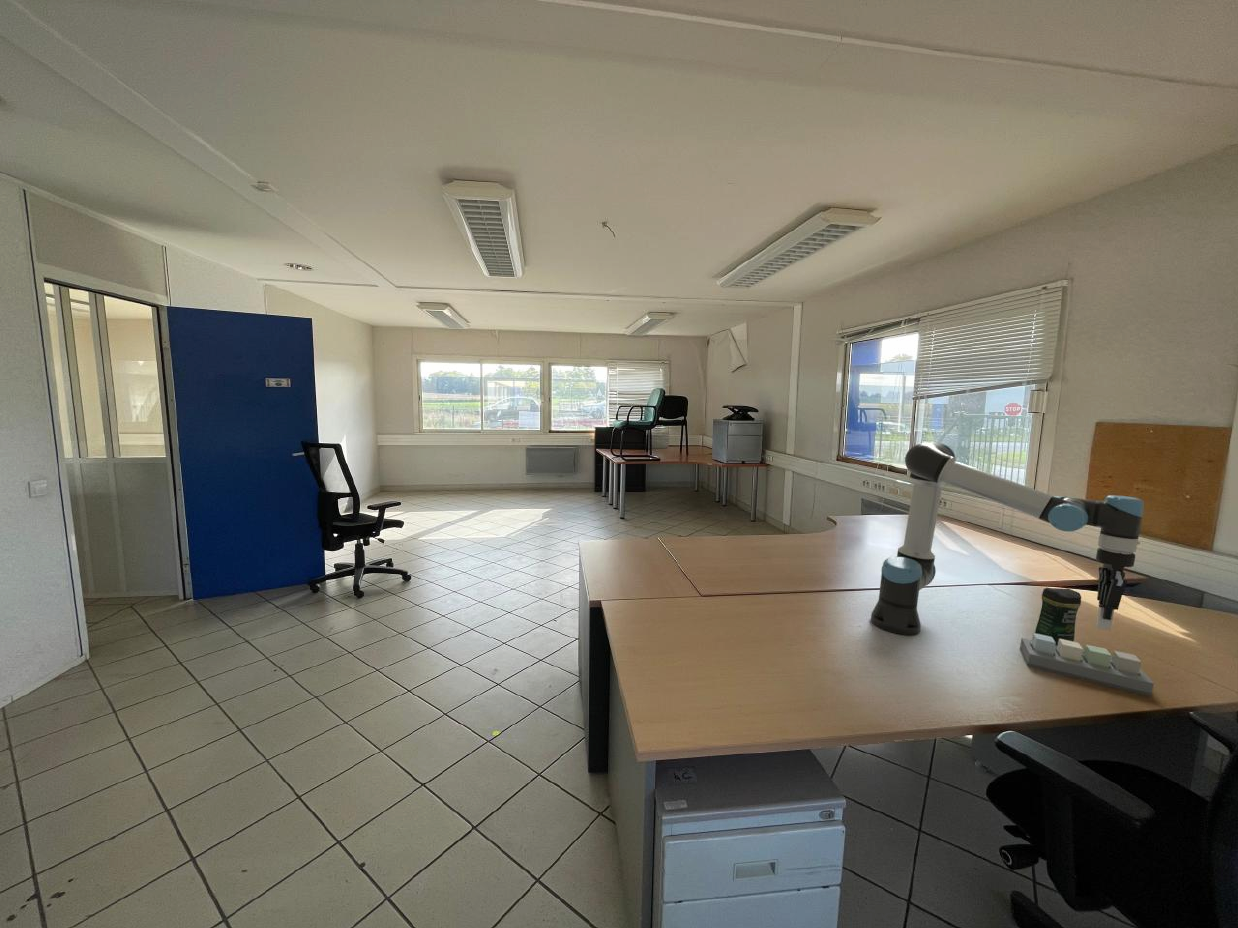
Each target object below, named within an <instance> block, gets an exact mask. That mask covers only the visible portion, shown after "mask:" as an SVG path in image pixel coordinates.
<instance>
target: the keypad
mask: <svg viewBox="0 0 1238 928" xmlns="http://www.w3.org/2000/svg"><path fill="white" fill-rule="evenodd" d="M1031 644H1032V639H1030V638H1025V637H1021V639H1020V644H1019V645H1020V646H1019V650H1020V653H1021V655H1022V657H1023V659H1024V662H1025V663H1026V664H1025V665H1027V667H1030V668H1033V669H1037V670H1042V671H1046V672H1050V673H1053V674H1056V675H1061V676H1064V677H1065V676H1066V677H1070V678H1074V679H1077V680H1081V681H1085V682H1089V683H1094V684H1098V685H1102V686H1104V687H1105V686H1106V687H1109V688H1114V689H1118V690H1122V691H1126V692H1130V693H1134V694H1138V695H1141V696H1147V697H1150V698H1152V695H1153V694H1152V693H1153V690H1154V684H1155V683H1154V682H1153V681H1152V679H1151V678H1150V677H1149V676H1148V675H1147V674H1146V673H1145V671H1143V669H1141V667H1140V671H1139V675H1136V674H1132V673H1127V672H1123V671H1119V670H1116V669H1115V667H1114V666H1113V665H1112V664H1111V661H1112V657H1111V660H1110V665H1109V668H1106V667H1102V666H1098V665H1093V664H1089V663H1087V661H1086V660H1085V658H1084V657H1083V656H1084V650H1083V651H1082V657H1081V661H1076V660H1072V659H1068V658H1063V657H1060V655H1059V653H1058V652H1057V647H1058V646H1057V645H1055V650H1054V655H1051V654H1046V653H1042V652H1038V651H1034V649H1033V647H1032V645H1031Z"/></svg>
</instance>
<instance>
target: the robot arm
mask: <svg viewBox="0 0 1238 928" xmlns="http://www.w3.org/2000/svg"><path fill="white" fill-rule="evenodd" d="M904 463H905V466H906V468H907V470H908V471H909V472H910V474H909V479H911V481H912V482H913V487H912V491H911V492H912V493H911V499H910V503H909V504H910V505H909V511H908V517H907V523H906V529H905V534H904V539H903V540H904V542H903V545H902V546H900V547H898V549H897V555H896V556H894V557H893V556H891V557H887V558H886V559H885V560H884V561H883V563H882V566H881V570H880V571H881V575H880V585H879V594H878V600H877V602H876V604H875V605H874V607H873V610H872V611H871V615H870V622H871V623H872V624H873V625H875V626H876V627H878V628H880V629H882V630H884V631H886V632H890V633H893V634H895V635H902V636H916V635H918V634H919V633H921V621H920V616H919V613H918V601H919V596H920V595H919V594H920V591H921V590H922V589H924V588H925V587H927V586H928V585H929V584H931V583H932V582H933V581H934V579H935V576H936V566H935V559H936V555H935V553H933V552H932V548H933V547H932V546H933V542H934V537H935V530H936V525H937V518H938V513H939V507H940V500H941V496H942V490H943V487H944V486H946V485H947V484H948V485H950V486H953V487H955V488H958V489H960V490H963V491H966V492H969V493H970V494H974V495H976V496H979V497H982V498H984V499H986V500H988V501H992V502H994V503H997V504H998V505H999V504H1000V505H1001V506H1002V505H1003V506H1004V507H1007V508H1009V509H1013V510H1015V511H1017V512H1020V513H1022V514H1026V515H1028V516H1030V517H1033V518H1035V519H1038V520H1040V521H1043V522H1045V523H1048V524H1050V525H1051V526H1052V527H1054V528H1055V529H1057V530H1059V531H1062V532H1066V533H1067V532H1075V531H1079V530H1080V529H1083V527H1085V526H1090V527H1091V526H1093V527H1097V528H1098V527H1099V528H1100V531H1099V536H1098V541H1097V542H1098V543H1097V546H1098V548H1097V549H1096V554H1095V559H1096V561H1097V562H1099V563H1101V564H1103V565H1102V566H1099V568H1098V585H1097V597H1096V600H1097V601H1098V612H1097V618H1096V624H1095V627H1096V628H1097V629H1098V630H1099V629H1101V630H1105V631H1109V632H1110V631H1111V630H1112V624H1113V618H1114V613H1115V610H1119V608H1120V604H1121V600H1122V597H1123V594H1124V590H1125V587H1126V585H1127V583H1128V581H1127V580H1126V579H1125V578H1126V577H1125V576H1126V572H1124V570H1125V569H1124V568H1132V567H1134V566H1135V561H1136V556H1137V555H1136V554H1135V553H1136V552H1137V548H1138V547H1137V546H1138V545H1140V544H1141V541H1140V540H1139V537H1140V531H1141V528H1142V527H1141V526H1142V522H1143V517H1144V515H1143V514H1144V505H1145V503H1144V501H1143V500H1142V499H1140V498H1137V497H1132V496H1126V495H1115V494H1110V495H1107V496H1106V497H1105V499H1104V500H1093V499H1084V498H1078V497H1070V496H1066V495H1062V496H1060V495H1051V494H1049V493H1046V492H1043V491H1040V490H1037V489H1034V488H1031V487H1029V486H1026V485H1023V484H1020V483H1018V482H1015V481H1012V480H1009V479H1006V478H1005V477H1001V476H998V475H996V474H992V473H989V472H987V471H984V470H981V469H978V468H977V467H973V466H971V465H968V464H965V463H962V462H959V461H957V459H956V454H955V452H954V450H953V449H952V448H951V447H950V446H948V445H947V444H945V443H942V442H937V441H930V442H923V443H917V444H915V445H913V446H912V447H911V448H910V449H908V451H907V452H906V454H905V456H904Z"/></svg>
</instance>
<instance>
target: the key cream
mask: <svg viewBox="0 0 1238 928" xmlns="http://www.w3.org/2000/svg"><path fill="white" fill-rule="evenodd" d="M1082 651H1083V652H1084V648H1083V647H1082V646H1081V644H1080V643H1079V642H1076V641H1074V642H1073V641H1068V640H1064V639H1059V641H1058V647H1057V652H1058V653H1059V655H1060V657H1063V658H1068V659H1072V660H1076V661H1081V657H1082Z"/></svg>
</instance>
